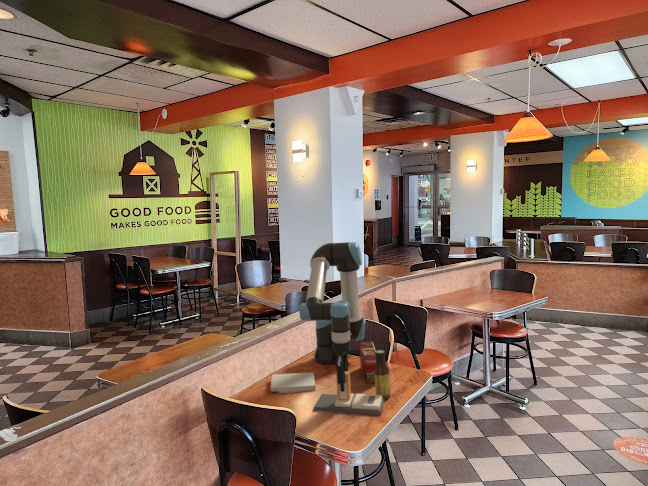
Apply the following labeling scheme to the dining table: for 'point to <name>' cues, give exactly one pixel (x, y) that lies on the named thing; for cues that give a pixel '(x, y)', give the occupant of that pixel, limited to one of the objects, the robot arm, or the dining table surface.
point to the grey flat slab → (293, 382)
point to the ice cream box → (368, 361)
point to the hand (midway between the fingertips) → (344, 395)
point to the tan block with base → (346, 402)
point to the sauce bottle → (381, 375)
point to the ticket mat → (331, 400)
